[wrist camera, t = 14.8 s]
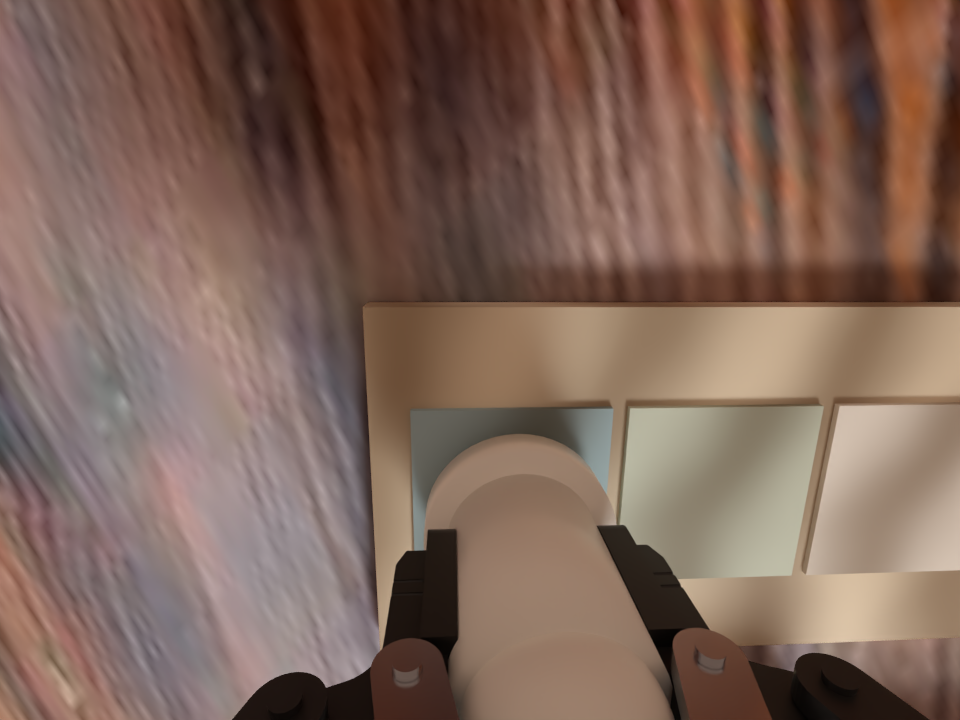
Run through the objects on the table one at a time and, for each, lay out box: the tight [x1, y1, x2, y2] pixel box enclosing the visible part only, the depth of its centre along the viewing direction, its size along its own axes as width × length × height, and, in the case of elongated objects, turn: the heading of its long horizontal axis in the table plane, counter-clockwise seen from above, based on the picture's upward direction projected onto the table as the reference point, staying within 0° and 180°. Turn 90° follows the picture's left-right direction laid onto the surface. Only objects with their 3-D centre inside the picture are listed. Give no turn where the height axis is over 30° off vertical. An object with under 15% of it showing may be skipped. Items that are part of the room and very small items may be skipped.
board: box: [363, 302, 960, 651], centre depth 17 cm, size 28×12×1 cm, turn 90°
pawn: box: [424, 434, 675, 720], centre depth 11 cm, size 5×5×8 cm
